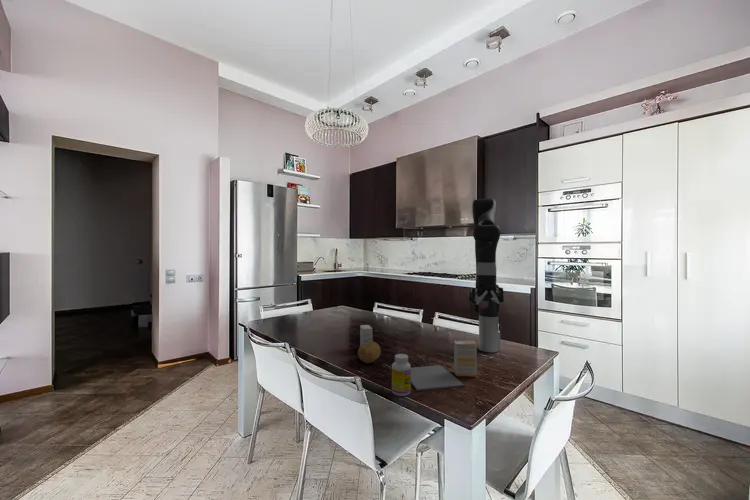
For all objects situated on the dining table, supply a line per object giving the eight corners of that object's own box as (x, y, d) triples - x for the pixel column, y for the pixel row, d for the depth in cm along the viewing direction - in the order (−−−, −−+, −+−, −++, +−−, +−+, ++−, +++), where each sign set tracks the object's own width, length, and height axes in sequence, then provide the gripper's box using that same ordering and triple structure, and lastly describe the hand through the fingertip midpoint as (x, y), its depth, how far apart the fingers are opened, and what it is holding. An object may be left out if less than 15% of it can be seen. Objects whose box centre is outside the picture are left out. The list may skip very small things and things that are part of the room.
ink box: (373, 353, 155) (373, 328, 155) (362, 353, 154) (362, 329, 153) (369, 347, 163) (369, 324, 163) (359, 348, 162) (359, 324, 162)
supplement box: (474, 372, 131) (474, 340, 131) (476, 377, 126) (477, 344, 126) (453, 371, 131) (453, 339, 131) (455, 376, 127) (455, 343, 127)
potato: (352, 366, 137) (352, 347, 137) (364, 355, 151) (364, 338, 151) (373, 369, 134) (373, 350, 134) (384, 358, 147) (384, 341, 147)
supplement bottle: (405, 398, 108) (405, 360, 108) (388, 394, 111) (388, 357, 111) (413, 391, 113) (413, 355, 113) (397, 386, 117) (397, 351, 117)
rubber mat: (440, 366, 137) (440, 365, 137) (463, 386, 118) (463, 384, 118) (400, 369, 133) (400, 368, 133) (417, 390, 114) (417, 389, 114)
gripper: (496, 272, 136) (496, 310, 136) (466, 273, 133) (465, 312, 133) (507, 274, 129) (507, 314, 129) (475, 274, 126) (475, 315, 126)
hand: (486, 313), depth 131 cm, fingers open, 8 cm apart
